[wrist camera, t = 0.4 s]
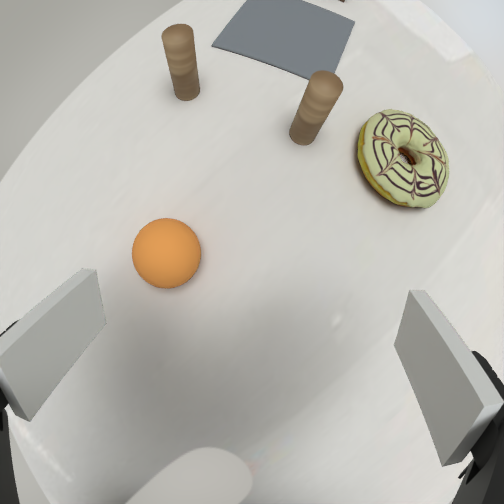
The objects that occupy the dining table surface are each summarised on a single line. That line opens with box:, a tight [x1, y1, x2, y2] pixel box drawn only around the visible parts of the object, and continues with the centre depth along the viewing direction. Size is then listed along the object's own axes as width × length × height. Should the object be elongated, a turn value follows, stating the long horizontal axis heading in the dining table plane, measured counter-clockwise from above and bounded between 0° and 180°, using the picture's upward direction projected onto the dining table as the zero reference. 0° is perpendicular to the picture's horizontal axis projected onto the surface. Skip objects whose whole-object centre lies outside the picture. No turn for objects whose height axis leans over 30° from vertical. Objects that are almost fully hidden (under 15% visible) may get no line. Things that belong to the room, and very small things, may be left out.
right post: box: [289, 70, 343, 145], centre depth 26 cm, size 3×3×9 cm
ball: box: [132, 218, 201, 288], centre depth 25 cm, size 6×6×6 cm
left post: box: [162, 24, 200, 101], centre depth 25 cm, size 3×3×9 cm
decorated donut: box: [358, 109, 449, 208], centre depth 29 cm, size 10×11×4 cm
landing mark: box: [212, 0, 355, 80], centre depth 32 cm, size 14×14×1 cm
